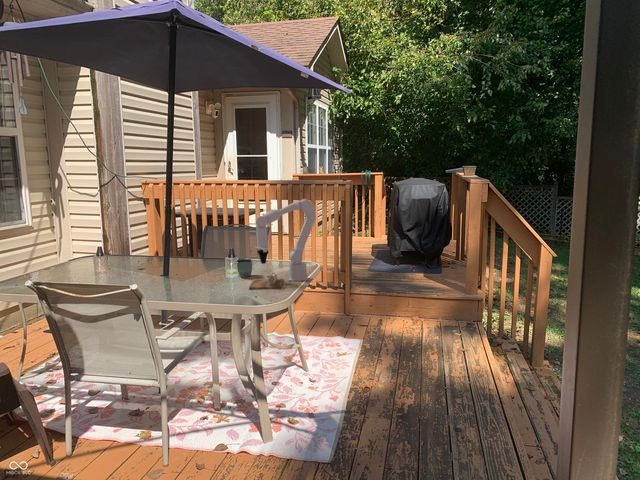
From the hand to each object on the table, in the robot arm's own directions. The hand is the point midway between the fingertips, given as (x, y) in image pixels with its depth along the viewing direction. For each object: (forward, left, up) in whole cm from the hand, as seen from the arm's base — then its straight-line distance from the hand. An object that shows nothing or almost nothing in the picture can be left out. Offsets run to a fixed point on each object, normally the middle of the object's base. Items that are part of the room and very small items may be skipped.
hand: (263, 263), depth 267 cm
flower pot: (+13, -14, -10) cm, 22 cm away
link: (-5, +6, -9) cm, 12 cm away
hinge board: (-2, +9, -10) cm, 13 cm away
